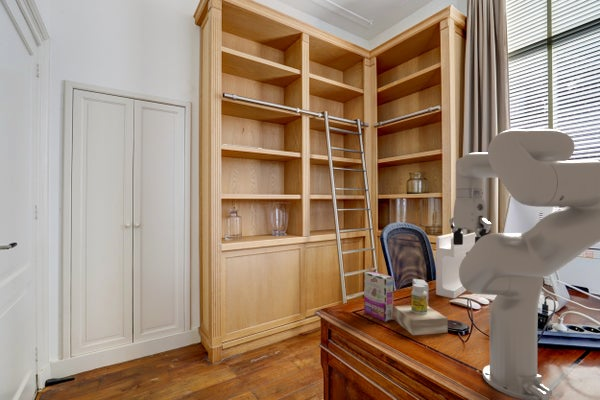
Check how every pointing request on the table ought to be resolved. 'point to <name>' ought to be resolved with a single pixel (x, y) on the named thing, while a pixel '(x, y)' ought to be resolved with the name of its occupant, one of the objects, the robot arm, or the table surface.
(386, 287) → the candy bar box
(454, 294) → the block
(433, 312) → the base block
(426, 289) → the ink box
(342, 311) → the table surface
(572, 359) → the table surface
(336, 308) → the table surface
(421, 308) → the supplement bottle
